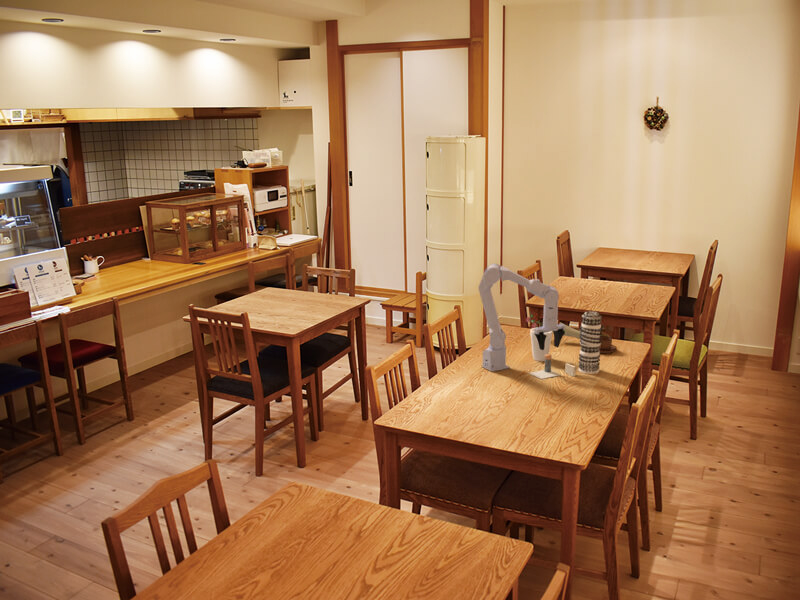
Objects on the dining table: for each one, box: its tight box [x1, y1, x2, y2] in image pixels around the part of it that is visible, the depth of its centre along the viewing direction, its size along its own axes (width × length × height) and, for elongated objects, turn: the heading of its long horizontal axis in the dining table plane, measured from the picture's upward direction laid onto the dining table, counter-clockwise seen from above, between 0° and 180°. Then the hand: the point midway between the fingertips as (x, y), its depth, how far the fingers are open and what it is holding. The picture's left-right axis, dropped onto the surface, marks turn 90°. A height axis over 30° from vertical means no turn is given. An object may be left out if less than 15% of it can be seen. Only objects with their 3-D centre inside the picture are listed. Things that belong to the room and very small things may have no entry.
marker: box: [543, 353, 553, 372], centre depth 296 cm, size 3×3×7 cm
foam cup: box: [529, 327, 553, 362], centre depth 312 cm, size 10×9×13 cm
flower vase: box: [525, 311, 582, 340], centre depth 337 cm, size 12×12×35 cm
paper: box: [528, 369, 561, 380], centre depth 294 cm, size 10×8×1 cm
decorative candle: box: [578, 310, 603, 375], centre depth 295 cm, size 9×9×25 cm
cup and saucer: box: [599, 335, 618, 354], centre depth 323 cm, size 12×12×6 cm
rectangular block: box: [564, 362, 576, 377], centre depth 293 cm, size 5×1×4 cm, turn 27°
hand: (549, 348), depth 297 cm, fingers open, 7 cm apart
